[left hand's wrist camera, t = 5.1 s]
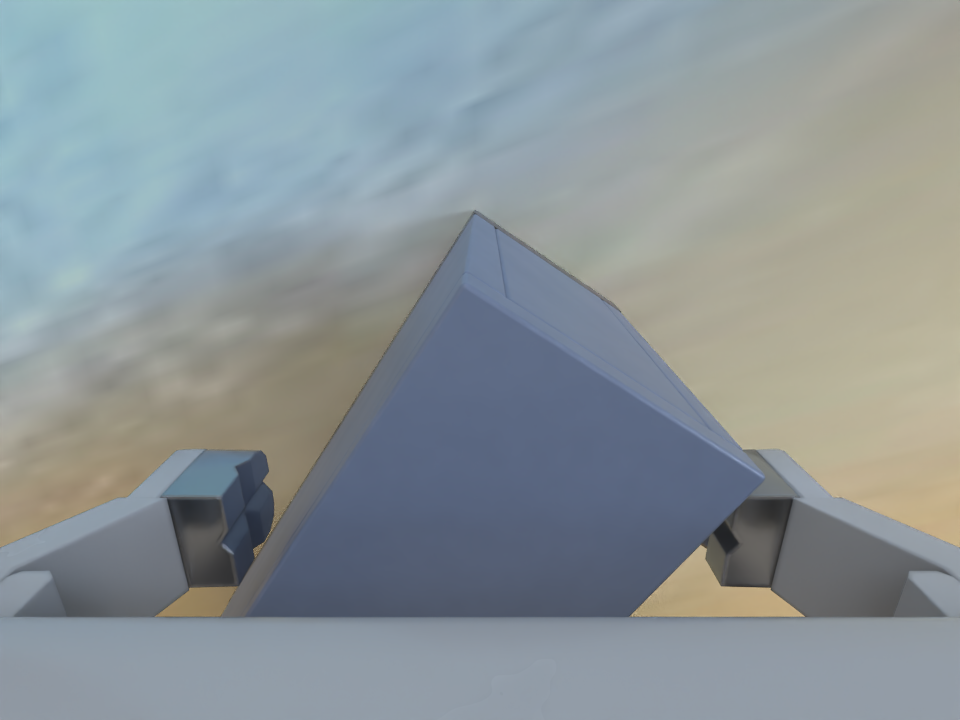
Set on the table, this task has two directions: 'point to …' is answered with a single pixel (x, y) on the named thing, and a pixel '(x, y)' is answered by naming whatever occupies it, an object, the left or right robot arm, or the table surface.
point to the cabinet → (503, 461)
